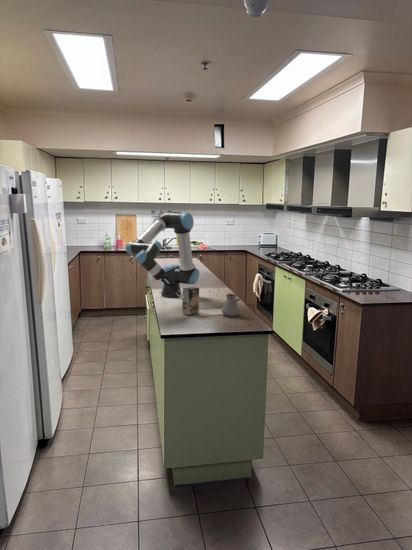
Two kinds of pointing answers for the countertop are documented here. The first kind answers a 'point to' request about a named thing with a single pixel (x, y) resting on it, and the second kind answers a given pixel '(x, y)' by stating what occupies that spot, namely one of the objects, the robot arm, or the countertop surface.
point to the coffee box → (190, 301)
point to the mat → (210, 312)
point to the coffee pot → (231, 306)
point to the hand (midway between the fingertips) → (183, 297)
